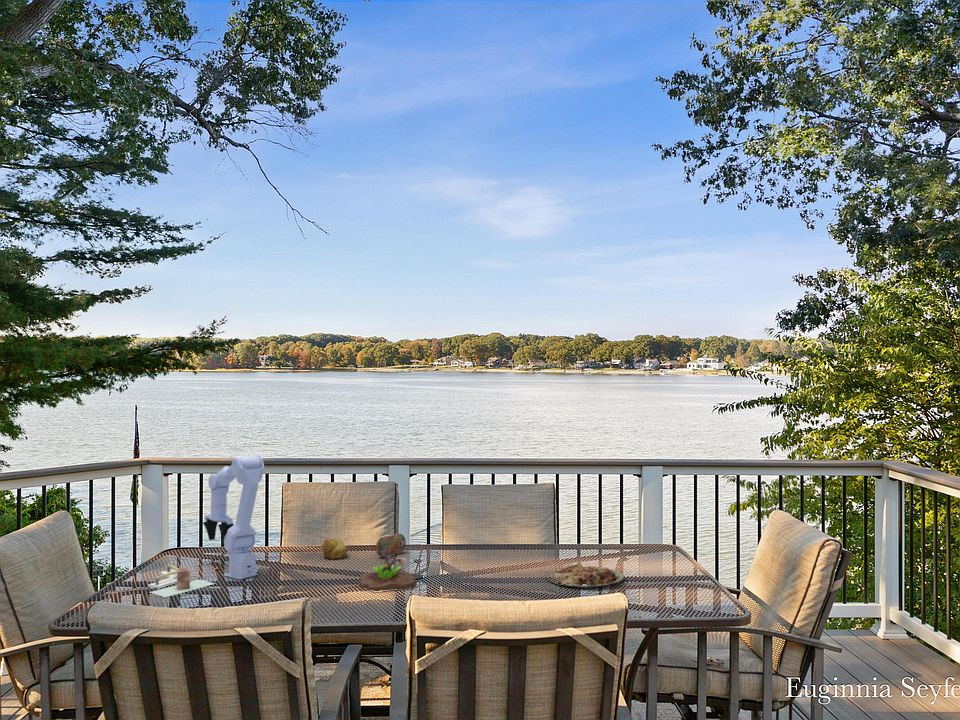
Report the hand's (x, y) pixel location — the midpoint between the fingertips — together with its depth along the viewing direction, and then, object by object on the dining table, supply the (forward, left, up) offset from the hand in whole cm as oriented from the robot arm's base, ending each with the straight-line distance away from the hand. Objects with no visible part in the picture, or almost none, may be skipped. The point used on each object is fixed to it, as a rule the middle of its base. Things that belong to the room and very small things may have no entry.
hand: (218, 540), depth 274 cm
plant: (-69, -19, -10) cm, 72 cm away
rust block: (-17, +26, -9) cm, 32 cm away
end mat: (-17, +26, -9) cm, 32 cm away
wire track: (-2, +24, -9) cm, 25 cm away
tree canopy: (-43, -51, -10) cm, 67 cm away
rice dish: (-124, -65, -10) cm, 140 cm away
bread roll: (-26, -37, -10) cm, 46 cm away
